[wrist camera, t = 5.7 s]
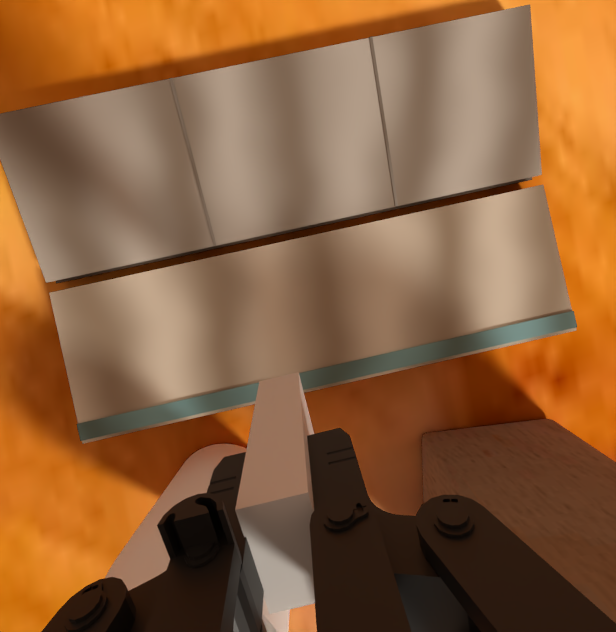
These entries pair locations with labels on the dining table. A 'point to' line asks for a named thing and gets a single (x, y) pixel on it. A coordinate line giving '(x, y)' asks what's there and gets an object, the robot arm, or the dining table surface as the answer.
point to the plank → (311, 312)
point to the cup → (146, 543)
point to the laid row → (275, 145)
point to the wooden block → (536, 494)
